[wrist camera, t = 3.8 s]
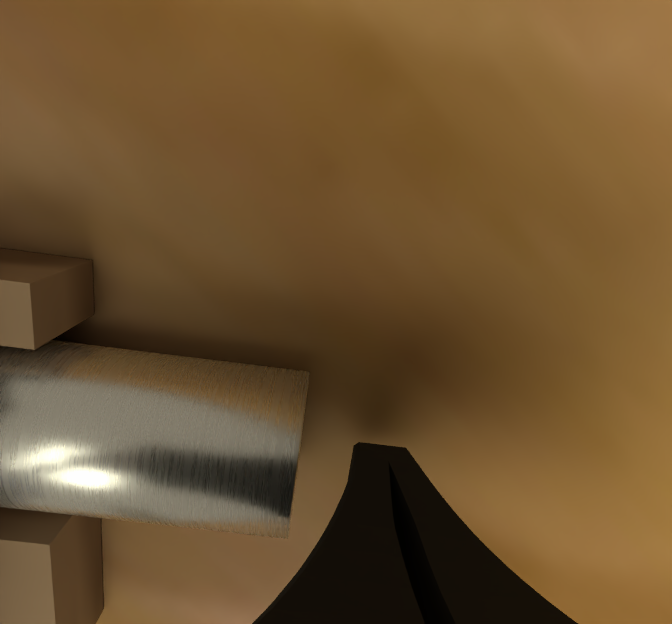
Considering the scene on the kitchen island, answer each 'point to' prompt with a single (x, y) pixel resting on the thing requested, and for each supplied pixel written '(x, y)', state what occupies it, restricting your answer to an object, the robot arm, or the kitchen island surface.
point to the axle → (150, 437)
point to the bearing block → (35, 526)
